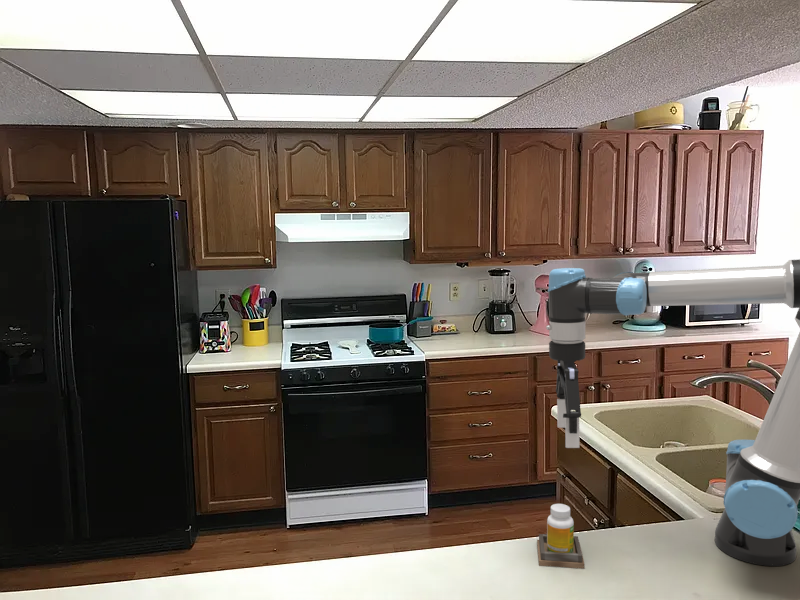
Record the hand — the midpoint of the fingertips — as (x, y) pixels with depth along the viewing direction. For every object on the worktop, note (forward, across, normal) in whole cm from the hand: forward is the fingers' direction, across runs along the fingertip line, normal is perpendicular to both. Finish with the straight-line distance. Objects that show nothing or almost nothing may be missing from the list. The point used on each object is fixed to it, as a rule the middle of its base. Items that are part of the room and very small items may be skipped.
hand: (567, 436), depth 138 cm
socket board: (+23, +7, -3) cm, 25 cm away
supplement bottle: (+23, +8, -3) cm, 24 cm away
